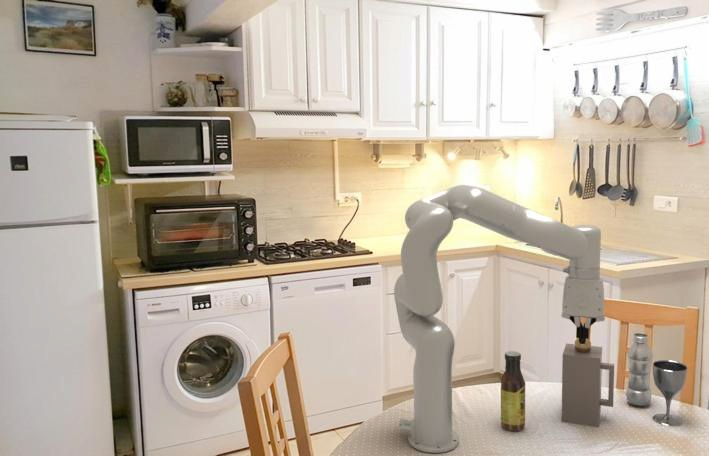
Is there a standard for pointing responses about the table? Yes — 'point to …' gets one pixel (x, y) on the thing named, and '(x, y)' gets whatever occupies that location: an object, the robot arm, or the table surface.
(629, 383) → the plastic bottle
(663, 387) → the wine glass
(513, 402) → the sauce bottle
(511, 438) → the table surface
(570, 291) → the robot arm
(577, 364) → the press pot
